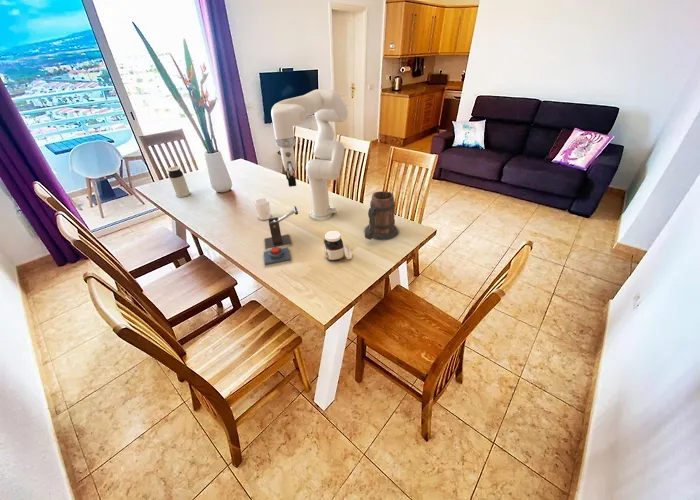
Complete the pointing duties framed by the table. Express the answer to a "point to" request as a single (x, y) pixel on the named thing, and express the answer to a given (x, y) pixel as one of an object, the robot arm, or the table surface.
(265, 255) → the button box
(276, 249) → the red push button
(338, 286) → the table surface
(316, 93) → the robot arm
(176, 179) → the travel mug
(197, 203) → the table surface
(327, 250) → the spread jar
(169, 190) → the table surface
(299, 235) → the table surface
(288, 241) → the bracket
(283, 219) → the tap lever
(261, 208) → the white cup
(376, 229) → the tankard
